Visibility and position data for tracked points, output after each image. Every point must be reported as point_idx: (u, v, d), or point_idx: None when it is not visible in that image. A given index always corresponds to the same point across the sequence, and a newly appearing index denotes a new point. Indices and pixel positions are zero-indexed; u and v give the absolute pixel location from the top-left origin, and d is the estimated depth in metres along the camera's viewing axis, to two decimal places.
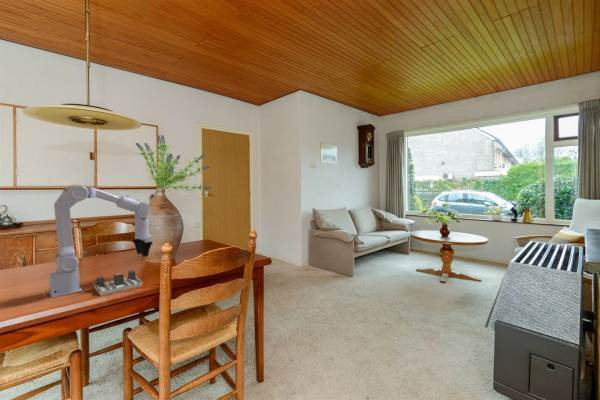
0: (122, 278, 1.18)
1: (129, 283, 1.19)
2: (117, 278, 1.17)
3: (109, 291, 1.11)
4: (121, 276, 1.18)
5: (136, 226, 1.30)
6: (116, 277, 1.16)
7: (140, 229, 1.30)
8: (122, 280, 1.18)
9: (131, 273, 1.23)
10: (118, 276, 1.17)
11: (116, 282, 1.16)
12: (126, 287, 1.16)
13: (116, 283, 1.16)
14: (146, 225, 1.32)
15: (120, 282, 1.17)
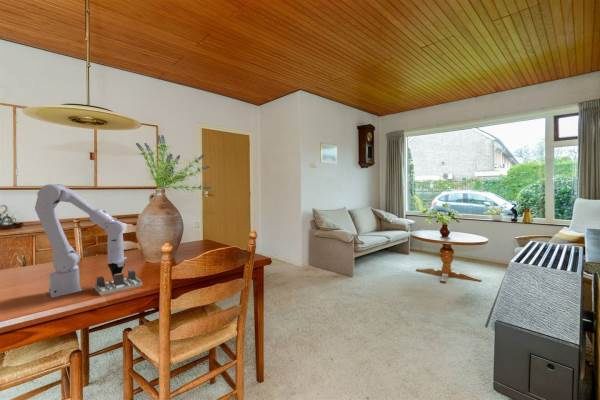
0: (122, 278, 1.18)
1: (129, 283, 1.19)
2: (117, 278, 1.17)
3: (109, 291, 1.11)
4: (121, 276, 1.18)
5: (108, 248, 1.18)
6: (116, 277, 1.16)
7: (113, 252, 1.17)
8: (122, 280, 1.18)
9: (131, 273, 1.23)
10: (118, 276, 1.17)
11: (116, 282, 1.16)
12: (126, 287, 1.16)
13: (116, 283, 1.16)
14: (117, 247, 1.18)
15: (120, 282, 1.17)
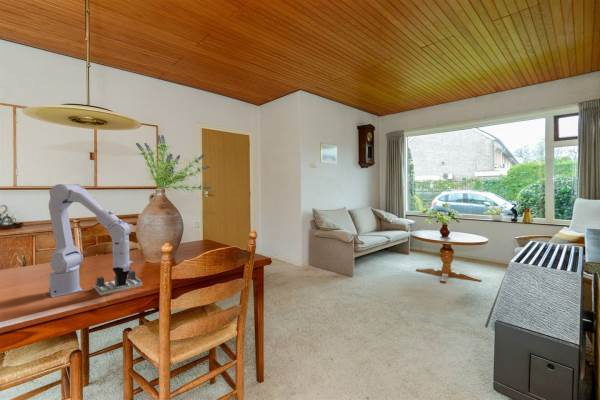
0: None
1: (129, 283, 1.19)
2: None
3: (109, 291, 1.11)
4: None
5: None
6: None
7: (118, 255, 1.11)
8: None
9: (131, 273, 1.23)
10: None
11: (117, 283, 1.15)
12: (126, 287, 1.16)
13: (117, 284, 1.15)
14: (120, 251, 1.11)
15: None
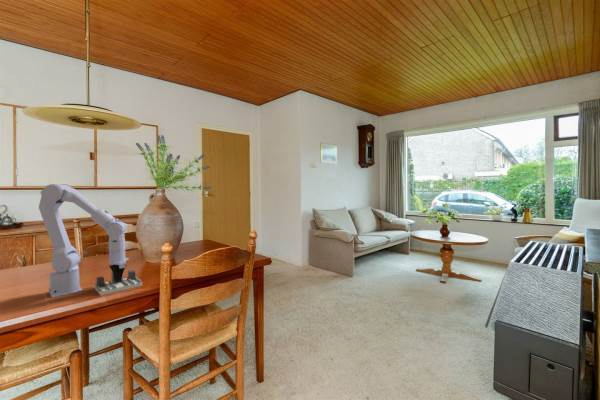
0: None
1: (129, 283, 1.19)
2: None
3: (109, 291, 1.11)
4: None
5: (109, 249, 1.16)
6: None
7: (115, 253, 1.15)
8: None
9: (131, 273, 1.23)
10: None
11: (114, 280, 1.18)
12: (126, 287, 1.16)
13: (114, 281, 1.18)
14: (118, 249, 1.16)
15: None
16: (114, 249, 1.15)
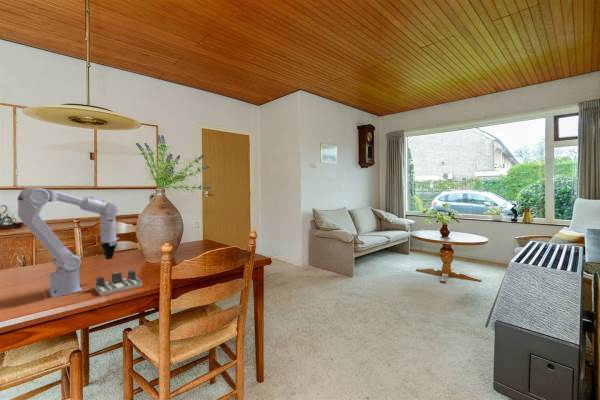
0: (120, 276, 1.20)
1: (129, 283, 1.19)
2: (115, 276, 1.19)
3: (109, 291, 1.11)
4: (119, 274, 1.20)
5: (102, 228, 1.22)
6: (114, 275, 1.18)
7: (105, 232, 1.22)
8: (120, 278, 1.20)
9: (131, 273, 1.23)
10: (116, 274, 1.19)
11: (114, 280, 1.18)
12: (126, 287, 1.16)
13: (114, 281, 1.18)
14: (113, 227, 1.25)
15: (118, 280, 1.19)
16: (110, 228, 1.23)
